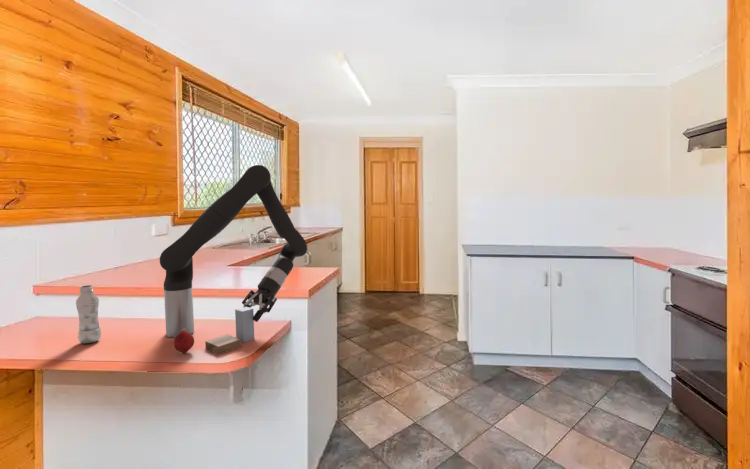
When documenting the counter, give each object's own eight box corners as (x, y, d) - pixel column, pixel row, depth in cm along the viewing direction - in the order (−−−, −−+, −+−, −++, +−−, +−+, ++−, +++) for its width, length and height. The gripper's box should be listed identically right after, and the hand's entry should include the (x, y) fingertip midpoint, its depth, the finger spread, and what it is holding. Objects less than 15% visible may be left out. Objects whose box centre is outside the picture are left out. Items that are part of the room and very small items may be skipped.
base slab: (205, 349, 120) (205, 341, 120) (227, 342, 127) (227, 334, 126) (218, 355, 115) (218, 346, 115) (241, 347, 122) (240, 339, 122)
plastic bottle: (100, 337, 131) (96, 283, 130) (103, 342, 127) (99, 286, 125) (77, 342, 127) (73, 286, 125) (79, 347, 122) (75, 289, 121)
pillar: (236, 339, 128) (235, 309, 127) (247, 336, 132) (246, 306, 131) (243, 342, 126) (242, 311, 125) (254, 338, 129) (253, 308, 128)
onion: (185, 357, 113) (184, 332, 113) (170, 356, 114) (168, 331, 114) (198, 350, 119) (197, 326, 118) (183, 349, 120) (182, 325, 119)
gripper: (255, 273, 139) (229, 309, 131) (278, 277, 131) (252, 316, 123) (267, 284, 144) (242, 320, 136) (290, 289, 135) (266, 327, 127)
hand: (247, 318), depth 129 cm, fingers open, 8 cm apart
